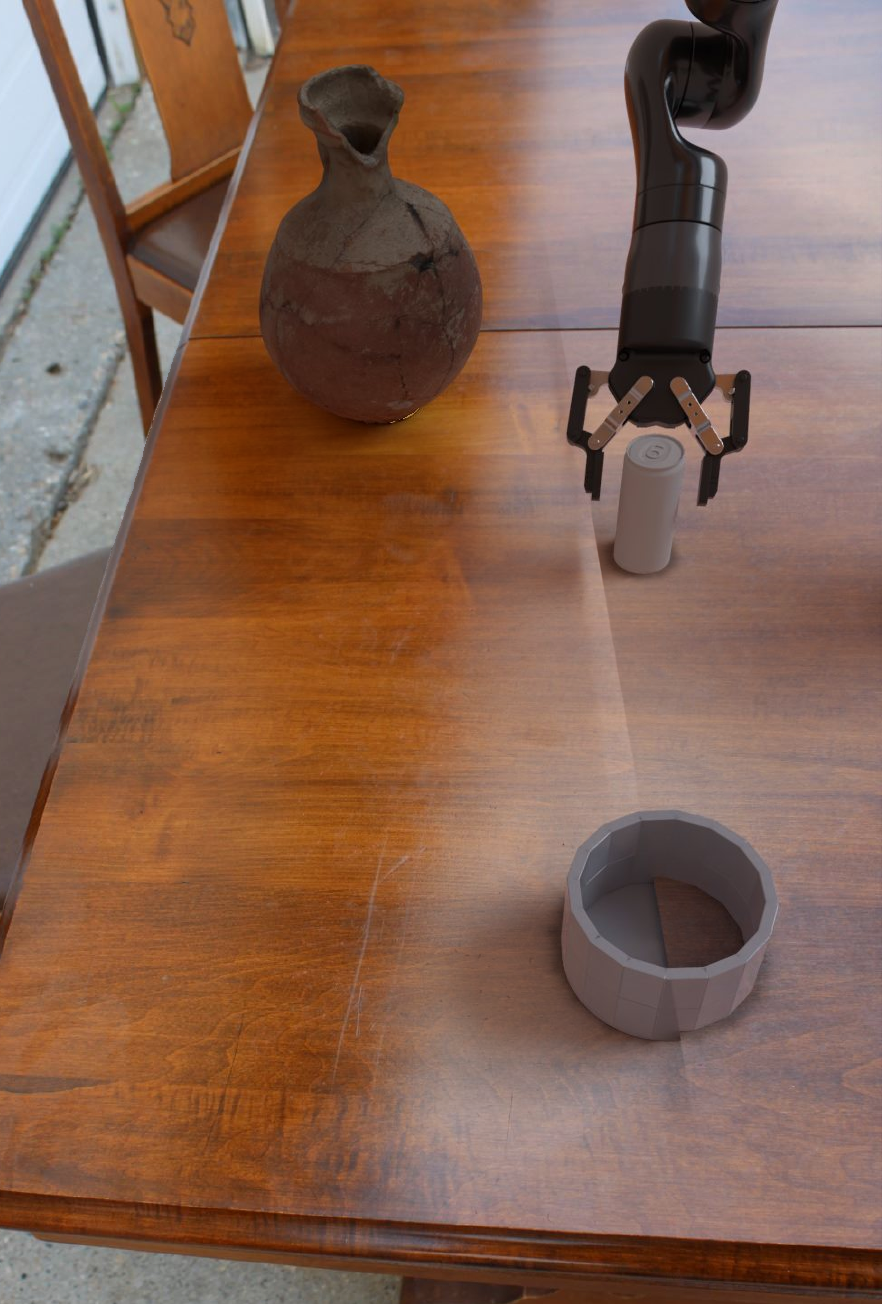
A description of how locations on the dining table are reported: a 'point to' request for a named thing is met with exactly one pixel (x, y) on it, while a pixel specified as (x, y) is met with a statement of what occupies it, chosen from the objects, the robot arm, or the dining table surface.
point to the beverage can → (648, 502)
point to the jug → (367, 267)
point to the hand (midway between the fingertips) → (648, 502)
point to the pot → (629, 927)
